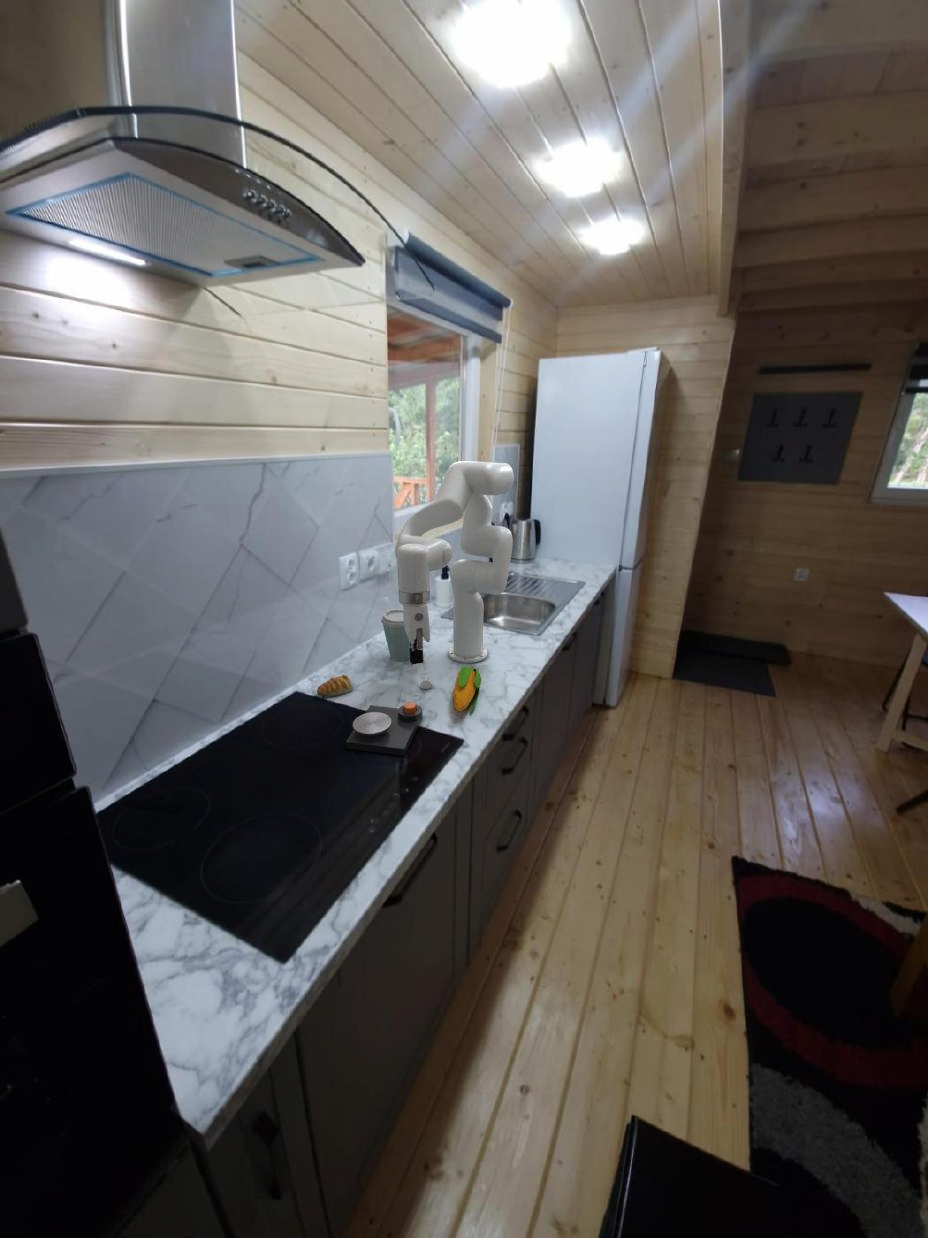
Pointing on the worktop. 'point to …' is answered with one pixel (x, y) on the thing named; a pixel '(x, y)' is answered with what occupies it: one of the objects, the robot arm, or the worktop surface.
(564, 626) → the worktop surface
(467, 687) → the corn
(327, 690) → the pastry
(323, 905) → the worktop surface
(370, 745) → the scale
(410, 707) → the tare button
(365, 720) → the scale pan
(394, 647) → the disposable coffee cup
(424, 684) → the garlic
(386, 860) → the worktop surface
